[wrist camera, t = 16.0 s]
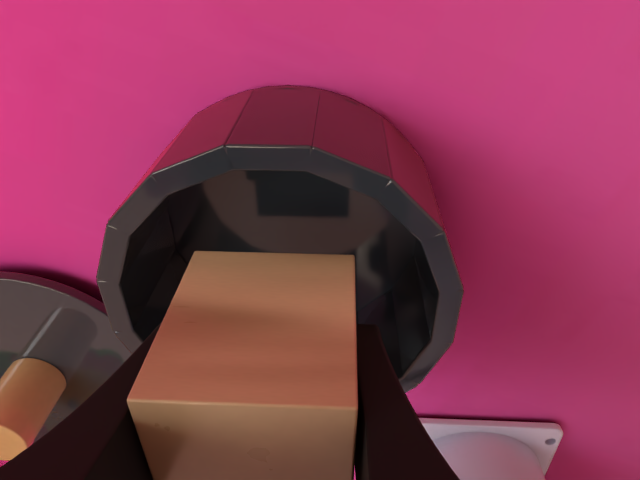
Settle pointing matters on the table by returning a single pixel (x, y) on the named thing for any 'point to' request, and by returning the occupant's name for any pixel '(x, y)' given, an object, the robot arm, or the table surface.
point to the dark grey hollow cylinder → (290, 216)
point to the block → (253, 371)
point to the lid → (49, 356)
